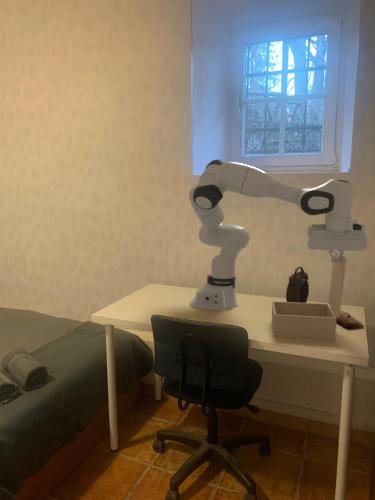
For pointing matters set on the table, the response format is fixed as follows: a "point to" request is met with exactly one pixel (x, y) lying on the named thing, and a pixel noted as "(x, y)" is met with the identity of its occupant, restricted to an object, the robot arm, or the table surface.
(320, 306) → the carton
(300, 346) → the table surface
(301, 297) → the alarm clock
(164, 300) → the table surface
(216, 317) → the table surface
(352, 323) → the sunglasses case
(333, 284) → the carton flap
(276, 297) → the table surface
